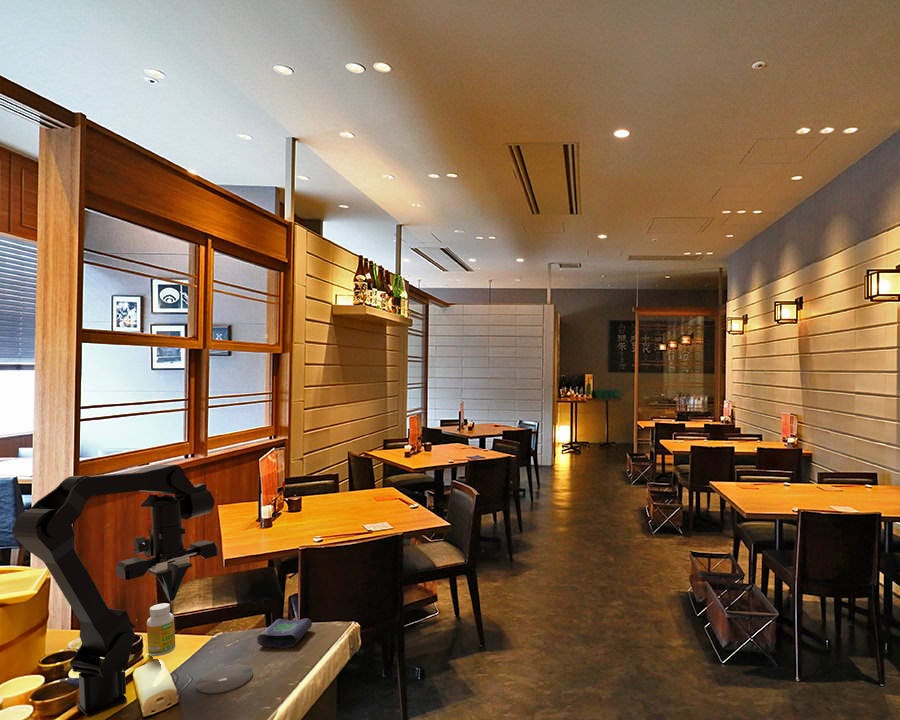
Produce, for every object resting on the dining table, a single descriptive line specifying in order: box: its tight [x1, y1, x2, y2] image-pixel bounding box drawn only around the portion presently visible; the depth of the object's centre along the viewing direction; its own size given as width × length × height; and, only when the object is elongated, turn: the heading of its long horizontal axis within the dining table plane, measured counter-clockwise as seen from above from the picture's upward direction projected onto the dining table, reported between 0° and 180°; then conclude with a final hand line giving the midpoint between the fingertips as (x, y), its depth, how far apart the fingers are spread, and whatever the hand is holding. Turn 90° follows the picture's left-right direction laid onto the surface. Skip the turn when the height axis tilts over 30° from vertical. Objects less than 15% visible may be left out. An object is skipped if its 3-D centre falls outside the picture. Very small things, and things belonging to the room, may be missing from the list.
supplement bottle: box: [146, 602, 176, 657], centre depth 129 cm, size 5×5×10 cm
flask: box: [256, 617, 313, 649], centre depth 131 cm, size 9×3×11 cm
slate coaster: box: [196, 663, 253, 695], centre depth 113 cm, size 10×10×1 cm
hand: (171, 600), depth 122 cm, fingers closed
